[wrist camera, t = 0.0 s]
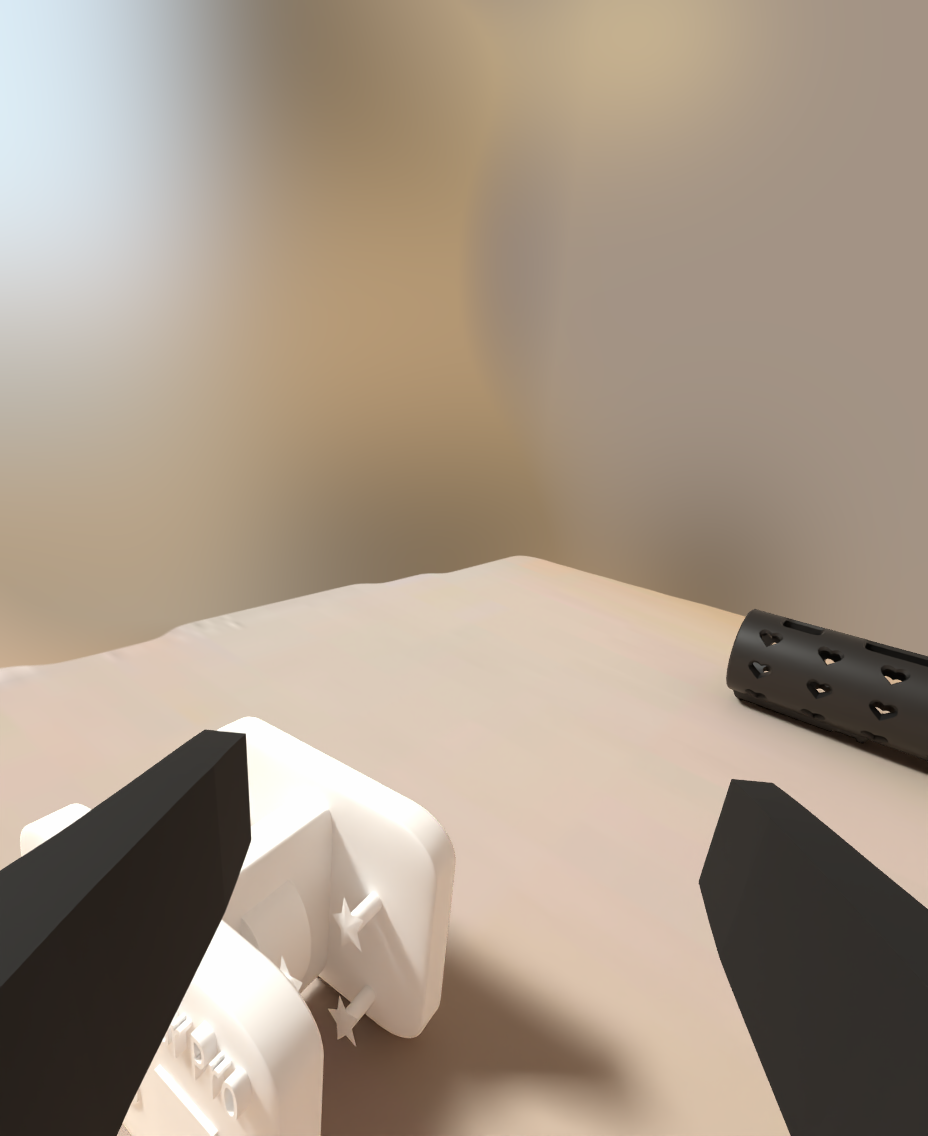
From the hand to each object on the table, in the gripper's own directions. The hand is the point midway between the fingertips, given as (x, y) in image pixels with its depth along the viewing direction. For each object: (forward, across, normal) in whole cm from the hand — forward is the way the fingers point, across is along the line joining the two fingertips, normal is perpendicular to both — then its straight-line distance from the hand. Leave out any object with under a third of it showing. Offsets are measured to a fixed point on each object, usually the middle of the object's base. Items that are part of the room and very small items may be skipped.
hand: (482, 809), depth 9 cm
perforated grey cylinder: (+39, -41, +26) cm, 62 cm away
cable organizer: (+9, +8, +23) cm, 26 cm away
